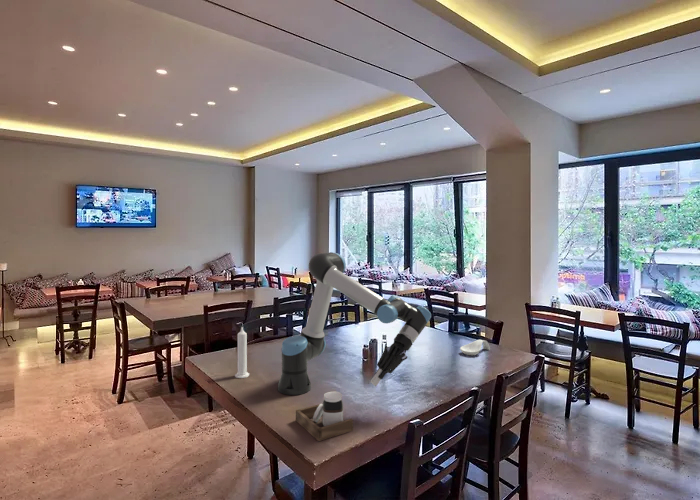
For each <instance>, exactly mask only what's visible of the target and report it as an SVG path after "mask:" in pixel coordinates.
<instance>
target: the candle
mask: <svg viewBox="0 0 700 500" xmlns="http://www.w3.org/2000/svg"><path fill="white" fill-rule="evenodd" d="M247 339H248V335H247V332H246V331H245V330H244V328H243V326H241V328H240V331H239V332H238V333H237V373H235V374H234V377H235V378H237V379H245V378H248V377H250V372H248V367H247V366H248V359H247V358H248V356H247V355H248V344H247V343H248V341H247Z"/></svg>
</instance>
